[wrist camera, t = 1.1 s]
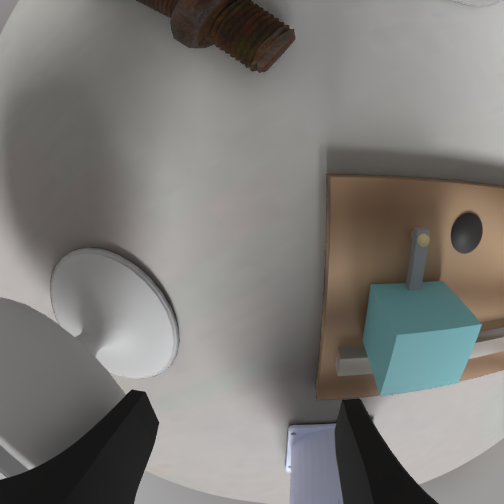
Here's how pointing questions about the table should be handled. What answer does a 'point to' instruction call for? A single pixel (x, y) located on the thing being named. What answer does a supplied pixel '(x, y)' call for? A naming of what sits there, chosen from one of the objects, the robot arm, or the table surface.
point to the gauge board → (397, 261)
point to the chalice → (77, 354)
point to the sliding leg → (417, 329)
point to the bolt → (228, 28)
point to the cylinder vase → (479, 2)
